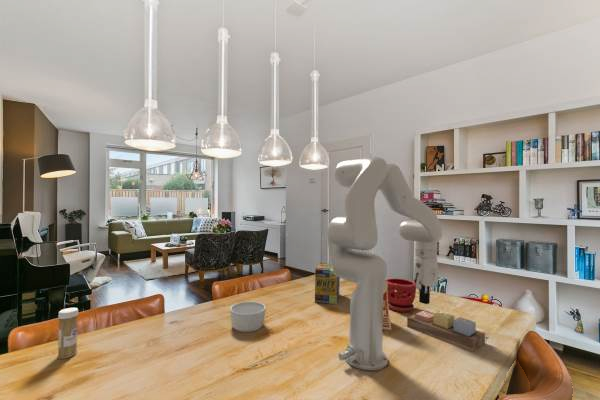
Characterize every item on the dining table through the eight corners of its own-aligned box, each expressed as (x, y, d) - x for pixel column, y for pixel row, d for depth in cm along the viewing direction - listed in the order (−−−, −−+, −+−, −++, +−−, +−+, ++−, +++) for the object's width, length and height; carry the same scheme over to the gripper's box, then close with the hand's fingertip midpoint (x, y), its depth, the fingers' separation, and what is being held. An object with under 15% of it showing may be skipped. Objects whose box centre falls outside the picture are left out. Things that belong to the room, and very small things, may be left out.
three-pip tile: (428, 327, 106) (428, 317, 106) (415, 322, 110) (415, 313, 110) (435, 324, 109) (435, 314, 109) (422, 319, 113) (422, 310, 113)
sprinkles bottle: (72, 358, 84) (73, 312, 84) (53, 360, 83) (54, 313, 83) (80, 350, 89) (81, 306, 89) (63, 352, 88) (63, 307, 88)
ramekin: (272, 326, 109) (273, 307, 109) (243, 337, 99) (244, 317, 99) (251, 316, 118) (251, 298, 118) (222, 325, 108) (223, 307, 108)
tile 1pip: (469, 336, 95) (469, 325, 95) (453, 330, 99) (453, 320, 99) (475, 332, 98) (475, 321, 98) (460, 327, 102) (460, 316, 102)
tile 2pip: (447, 328, 100) (447, 318, 101) (433, 323, 104) (433, 313, 104) (454, 325, 104) (454, 314, 104) (440, 320, 108) (440, 310, 108)
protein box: (314, 302, 135) (314, 269, 135) (319, 292, 150) (319, 262, 150) (337, 304, 132) (337, 270, 132) (339, 294, 147) (340, 263, 147)
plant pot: (420, 314, 123) (421, 285, 123) (389, 313, 123) (389, 285, 123) (409, 303, 136) (410, 277, 136) (381, 302, 136) (381, 277, 136)
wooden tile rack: (471, 351, 92) (471, 341, 92) (407, 326, 110) (407, 317, 110) (484, 343, 98) (484, 333, 98) (421, 320, 116) (421, 311, 116)
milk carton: (391, 330, 107) (392, 275, 107) (366, 327, 109) (366, 274, 109) (389, 320, 116) (389, 270, 116) (365, 317, 118) (366, 268, 118)
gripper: (424, 256, 102) (422, 309, 101) (445, 254, 111) (444, 302, 111) (405, 253, 108) (403, 303, 107) (427, 251, 117) (425, 297, 116)
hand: (424, 302), depth 109 cm, fingers closed
